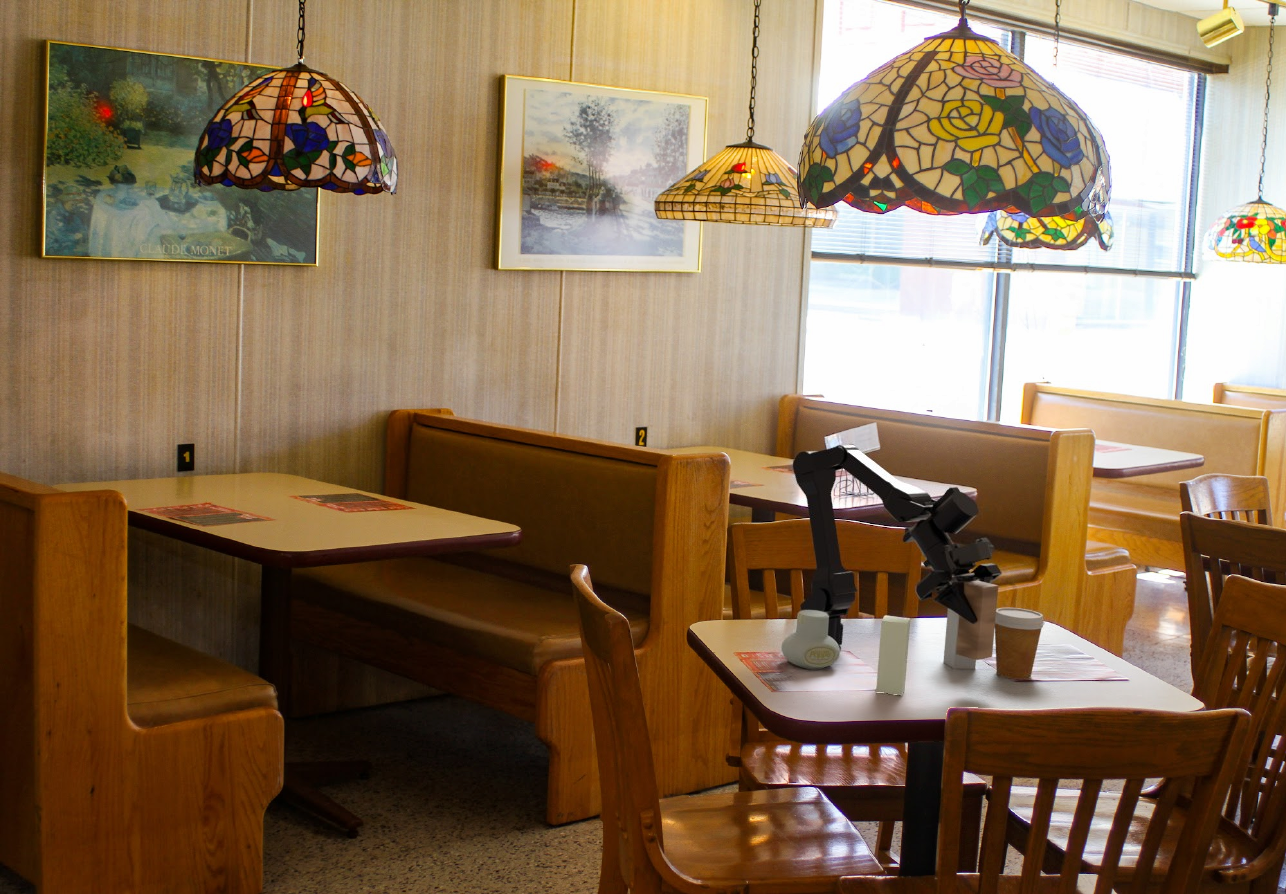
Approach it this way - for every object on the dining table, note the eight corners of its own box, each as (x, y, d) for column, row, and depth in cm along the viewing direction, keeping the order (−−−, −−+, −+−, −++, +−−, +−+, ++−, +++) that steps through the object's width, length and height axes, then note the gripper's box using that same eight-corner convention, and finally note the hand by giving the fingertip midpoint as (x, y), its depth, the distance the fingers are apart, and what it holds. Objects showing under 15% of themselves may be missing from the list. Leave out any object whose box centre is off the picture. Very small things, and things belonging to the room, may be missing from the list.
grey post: (953, 668, 242) (959, 602, 241) (943, 662, 247) (948, 596, 245) (975, 668, 243) (981, 602, 242) (964, 662, 248) (970, 596, 246)
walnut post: (955, 654, 227) (962, 582, 225) (971, 650, 229) (977, 580, 228) (977, 660, 223) (983, 587, 222) (992, 657, 226) (998, 585, 225)
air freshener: (826, 658, 244) (830, 607, 243) (845, 670, 237) (849, 618, 236) (774, 659, 241) (777, 608, 240) (791, 672, 233) (795, 619, 232)
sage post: (875, 692, 223) (881, 620, 222) (879, 686, 227) (884, 615, 226) (901, 696, 222) (907, 623, 220) (904, 689, 226) (910, 618, 225)
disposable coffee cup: (1040, 672, 243) (1045, 611, 242) (1038, 684, 234) (1044, 621, 233) (989, 665, 246) (994, 604, 245) (985, 677, 237) (991, 614, 236)
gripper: (934, 526, 221) (982, 601, 214) (997, 520, 233) (1044, 591, 226) (895, 562, 228) (940, 636, 220) (958, 554, 240) (1002, 624, 232)
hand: (983, 621), depth 225 cm, fingers closed on walnut post, 4 cm apart
